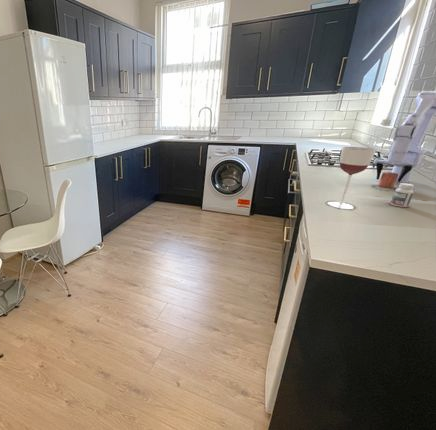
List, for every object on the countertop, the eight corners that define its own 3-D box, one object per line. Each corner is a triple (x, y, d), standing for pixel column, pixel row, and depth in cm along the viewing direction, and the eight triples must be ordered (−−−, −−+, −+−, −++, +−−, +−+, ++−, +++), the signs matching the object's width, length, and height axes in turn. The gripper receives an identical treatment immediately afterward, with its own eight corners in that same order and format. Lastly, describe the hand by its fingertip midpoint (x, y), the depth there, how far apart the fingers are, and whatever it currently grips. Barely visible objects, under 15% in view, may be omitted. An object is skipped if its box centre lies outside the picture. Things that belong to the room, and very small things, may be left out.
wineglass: (361, 210, 109) (382, 150, 101) (332, 208, 111) (350, 150, 102) (347, 202, 118) (366, 147, 109) (321, 200, 119) (337, 146, 111)
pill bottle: (400, 203, 117) (408, 182, 113) (411, 207, 112) (420, 186, 108) (386, 202, 117) (394, 182, 114) (397, 207, 112) (405, 185, 109)
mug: (377, 184, 140) (382, 171, 138) (392, 185, 137) (397, 172, 135) (379, 187, 134) (384, 174, 132) (394, 189, 131) (400, 175, 129)
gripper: (378, 151, 131) (369, 179, 137) (422, 154, 123) (410, 184, 129) (377, 149, 137) (367, 176, 142) (418, 152, 129) (407, 181, 134)
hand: (387, 180), depth 136 cm, fingers open, 7 cm apart
